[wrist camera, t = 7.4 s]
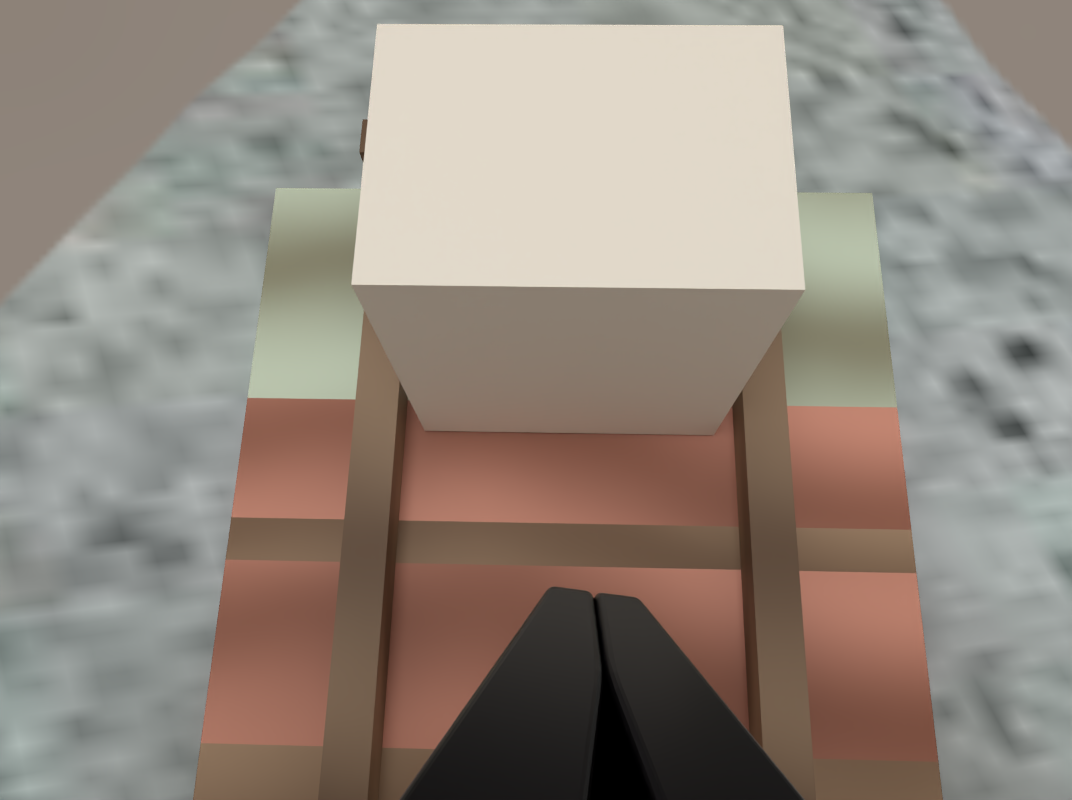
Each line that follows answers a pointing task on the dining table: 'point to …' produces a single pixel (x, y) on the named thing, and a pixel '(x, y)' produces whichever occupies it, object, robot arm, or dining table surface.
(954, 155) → the dining table surface
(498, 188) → the cream block
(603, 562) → the board
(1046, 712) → the dining table surface
